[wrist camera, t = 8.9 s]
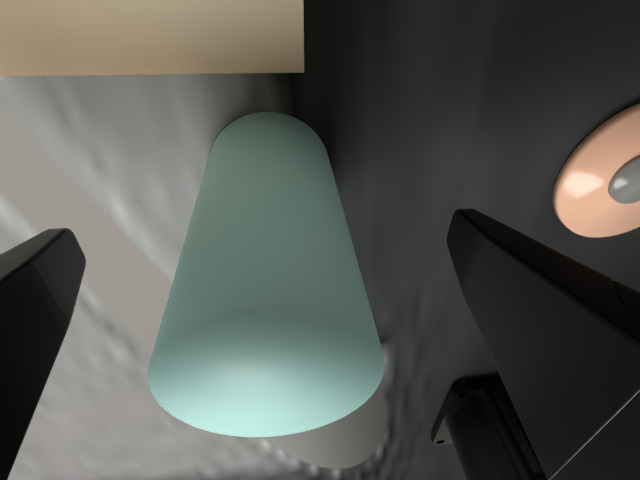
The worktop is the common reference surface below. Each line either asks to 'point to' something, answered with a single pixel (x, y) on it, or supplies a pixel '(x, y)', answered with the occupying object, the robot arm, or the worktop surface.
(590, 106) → the worktop surface
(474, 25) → the worktop surface
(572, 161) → the peach flat disc
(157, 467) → the worktop surface
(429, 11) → the worktop surface
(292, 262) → the peg
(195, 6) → the board
